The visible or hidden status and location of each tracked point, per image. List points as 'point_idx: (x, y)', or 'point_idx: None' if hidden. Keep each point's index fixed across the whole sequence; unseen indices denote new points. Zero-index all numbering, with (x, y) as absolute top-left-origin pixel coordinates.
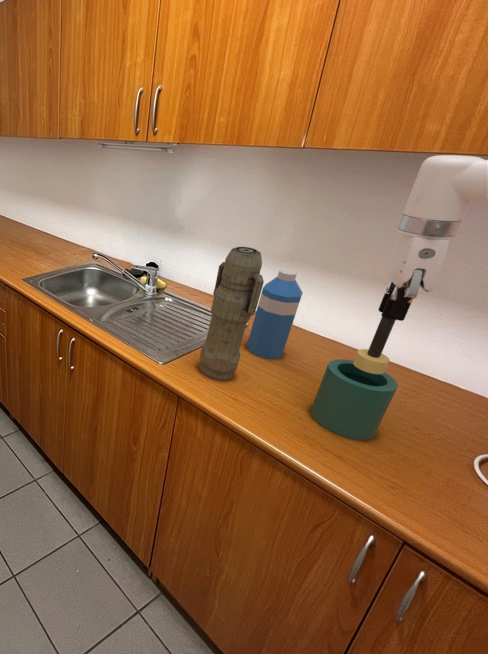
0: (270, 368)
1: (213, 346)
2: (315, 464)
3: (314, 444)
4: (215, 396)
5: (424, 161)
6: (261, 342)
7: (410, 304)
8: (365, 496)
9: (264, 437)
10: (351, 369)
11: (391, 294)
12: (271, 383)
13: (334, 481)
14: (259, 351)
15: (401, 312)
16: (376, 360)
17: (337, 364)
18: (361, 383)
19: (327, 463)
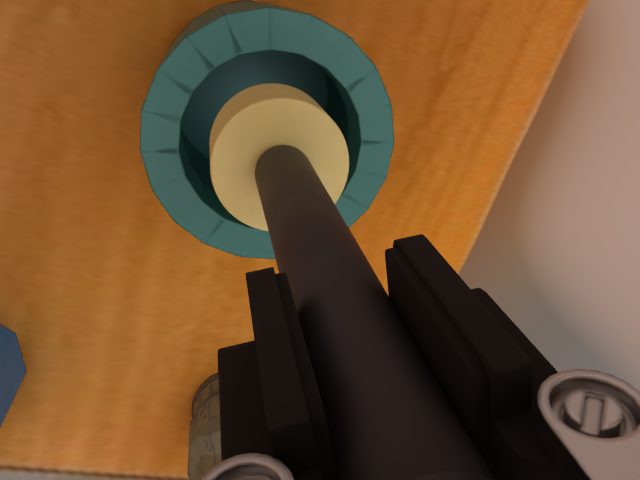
0: (83, 312)
1: None
2: (501, 130)
3: (421, 142)
4: None
5: None
6: (3, 402)
7: (518, 345)
8: (556, 21)
9: (466, 239)
10: (190, 170)
11: None
12: (184, 287)
13: (540, 86)
14: (17, 372)
15: (501, 317)
16: (335, 153)
17: (251, 232)
18: (362, 141)
19: (482, 107)
